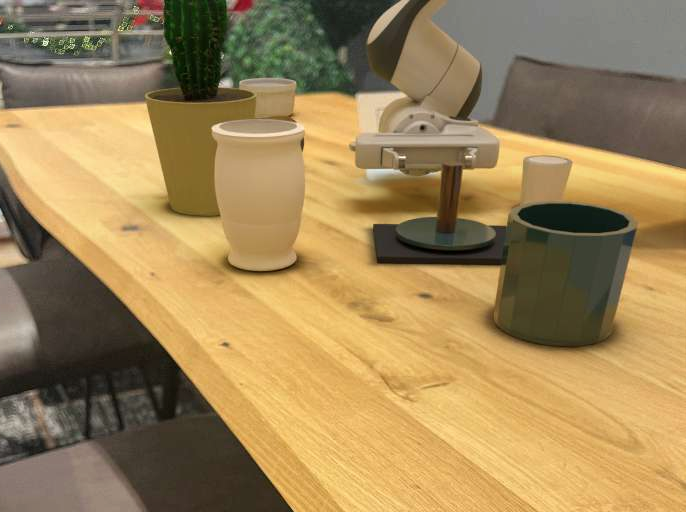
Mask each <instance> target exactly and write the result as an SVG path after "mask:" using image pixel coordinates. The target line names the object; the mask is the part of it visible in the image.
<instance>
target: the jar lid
mask: <svg viewBox="0 0 686 512" xmlns="http://www.w3.org/2000/svg"><path fill="white" fill-rule="evenodd" d="M463 165H464V164H463V163H462V162H457V161H445V162H443V163H442V168H441V171H440V177H439V179H440V180H439V189H438V197H437V210H436V216H425V217H416V218H412V219H408V220H404V221H402V222H400V223H398V224H399V225H398V226H397V227H396V236H397V237H398V238H399V239H400V240H402V241H404V242H406V243H408V244H411V245H414V246H418V247H423V248H428V249H436V250H470V249H477V248H481V247H485V246H487V245H489V244H491V243H493V242H494V240H495V236H496V233H495V231H494V229H492V228H491V227H490V226H488V224H486V223H482V222H480V221H477V220H472V219H468V218H461V217H458V215H459V209H460V208H459V207H460V198H461V191H462V190H461V189H462V181H463V180H462V179H463V173H464V170H463Z"/></svg>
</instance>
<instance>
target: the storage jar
mask: <svg viewBox="0 0 686 512" xmlns="http://www.w3.org/2000/svg"><path fill="white" fill-rule="evenodd" d="M638 226H639V220H637V219H636V218H634V217H633V216H632V215H631V213H628V212H625V211H622V210H619V209H617V208H612V207H608V206H603V205H598V204H595V203H587V202H578V201H565V200H562V201H544V202H535V203H527V204H524V205H520V204H519V205H518V206H515V207H512V209H510V211H509V212H508V214H507V223H506V227H507V228H506V235H505V241H504V248H503V254H502V261H501V265H500V269H499V275H498V280H497V288H496V294H495V300H494V308H493V321H494V323H495V325H496V327H498V328H499V329H500V330H501V331H502V332H504V333H505V334H508V335H510V336H512V337H514V338H517V339H518V340H522V341H526V342H529V343H532V344H533V343H534V344H538V345H544V346H550V347H563V348H565V347H572V348H573V347H584V346H589V345H594V344H597V343H598V344H599V343H601V342H602V341H604V340H606V339H607V338H608V337H609V336H610V335H611V333H612V329H613V326H614V323H615V318H616V314H617V311H618V306H619V303H620V299H621V295H622V291H623V287H624V283H625V278H626V274H627V272H628V271H627V270H628V267H629V263H630V260H631V255H632V251H633V247H634V243H635V239H636V234H637V230H638Z"/></svg>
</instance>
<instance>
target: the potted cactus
mask: <svg viewBox="0 0 686 512" xmlns="http://www.w3.org/2000/svg"><path fill="white" fill-rule="evenodd" d="M159 1H161V2H163V4H164V5H157V6H156V7H157V8H161V9H159V11H160V12H161V14H162V17H163V20H161V19H158V18H157V20H158V21H160V22H162V24H161V25H162V26H161V27H162V28H161V29H162V30H163V31H162V33H163V35H161V38H160V40H162V39H163V40H162V41H161V43H162V44H164V45H163V47H164V48H166V47H167V46H168V48H169V51H170V53H171V54H170V57H171V59H168V60H166V61H171V62H172V65H169V66H168V68H170V67H173V69H172V72H173V74H171V77H174V78H173V80H175V79H177V80H176V81H177V82H178V84H177V87H175V88H173V87H172V88H166V89H165V88H163V89H158V90H153V91H149V92H147V93H145V94H144V98H145V101H146V107H147V108H146V109H147V113H148V117H149V121H150V125H151V129H152V134H153V137H154V142H155V146H156V150H157V154H158V160H159V165H160V167H161V172H162V176H163V181H164V183H165V184H164V185H165V189H166V193H167V197H168V202H169V205H170V207H171V209H172V210H173V211H174V212H175V213H176V212H177V213H179V214H183V215H190V216H201V217H202V216H205V217H206V216H207V217H208V216H221V214H220V211H219V207H218V203H217V198H216V191H215V178H214V171H215V156H216V150H217V146H218V144H217V141H216V140H215V139H214V138H213V136H212V127H213V126H215V125H217V124H220V123H224V122H230V121H236V120H248V119H255V110H256V96H257V93H255V92H253V91H249V90H244V89H239V88H237V87H226V86H225V84H224V83H223V80H222V79H221V76H222V65H225V62H224V61H223V60H224V59H223V57H222V56H224V53H222V46H223V47H224V48H223V51H226V50H225V49H227V50H229V51H230V49H229V48H228V47H226V45H227V44H228V43H227V42H226V41H227V39H228V38H229V36H228V35H229V34H230V33H232V34H233V33H234V31H230V30H229V31H228V22H230V19H228V17H229V16H232V15H233V13H228V5H227V1H228V0H159ZM164 40H165V41H164ZM224 42H225V43H224ZM162 50H163V48H161V49H160V51H162ZM225 61H228V60H226V59H225ZM221 63H222V64H221ZM223 70H226V69H225V68H223Z"/></svg>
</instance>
